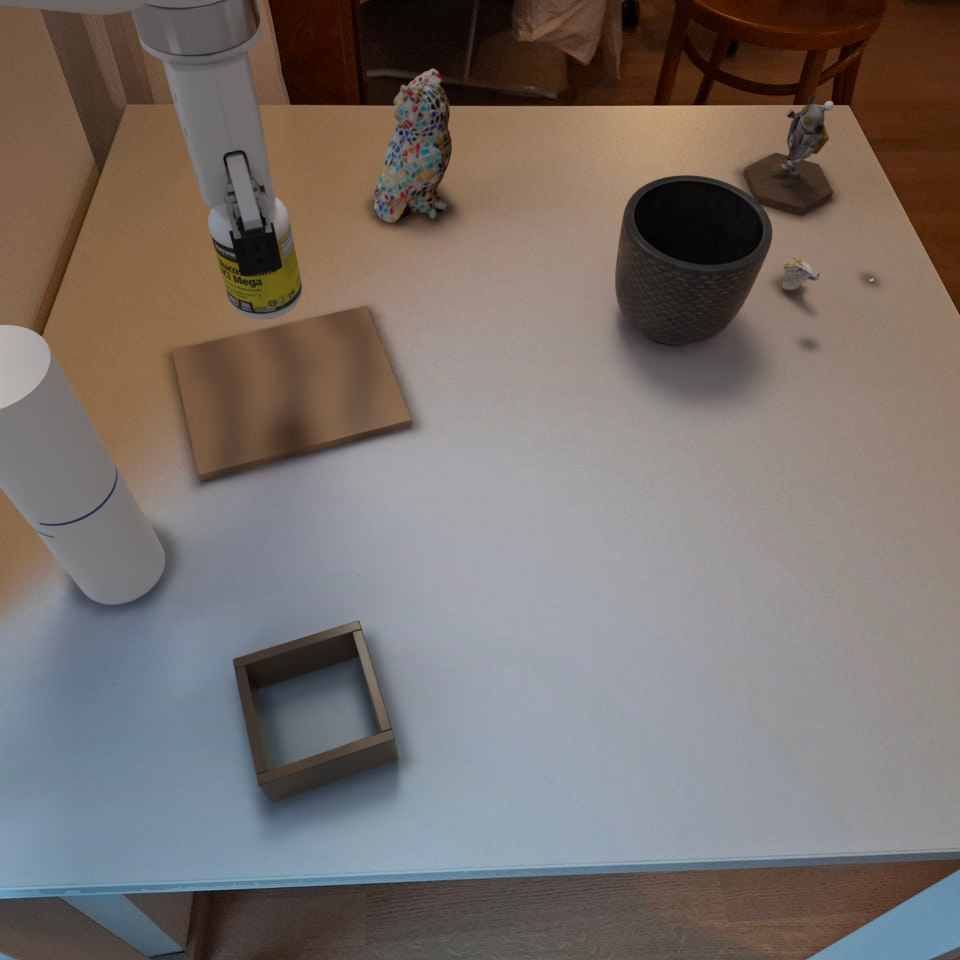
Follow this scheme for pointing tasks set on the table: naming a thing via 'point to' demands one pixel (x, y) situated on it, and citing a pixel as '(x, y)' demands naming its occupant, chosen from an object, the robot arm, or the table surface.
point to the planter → (688, 257)
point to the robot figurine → (794, 165)
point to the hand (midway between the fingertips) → (252, 240)
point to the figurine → (416, 151)
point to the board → (287, 391)
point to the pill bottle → (264, 290)
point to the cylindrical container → (69, 477)
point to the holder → (296, 662)
